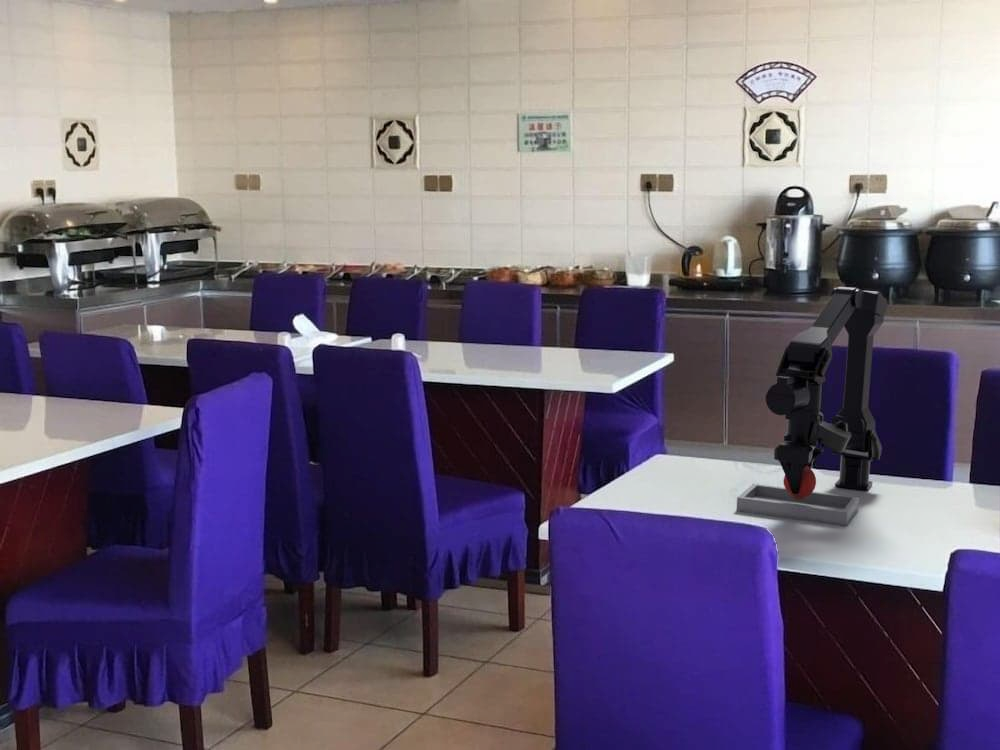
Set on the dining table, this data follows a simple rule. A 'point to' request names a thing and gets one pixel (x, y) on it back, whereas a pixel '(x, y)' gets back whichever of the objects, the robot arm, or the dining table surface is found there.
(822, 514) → the tray
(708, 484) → the dining table surface
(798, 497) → the onion
